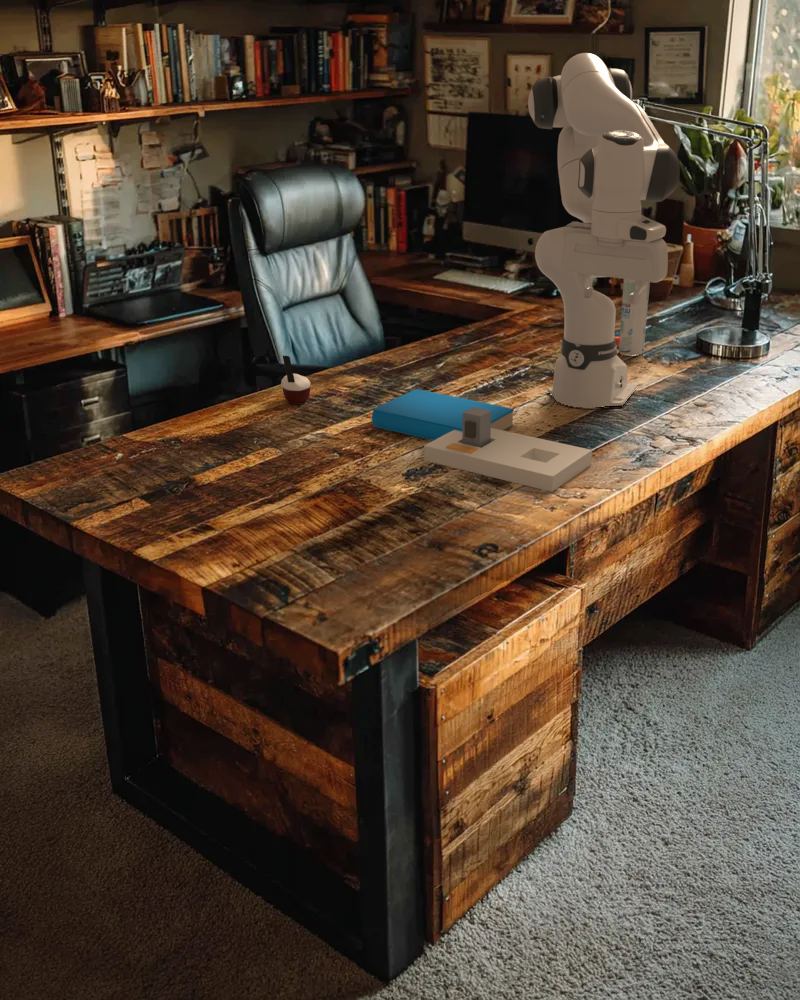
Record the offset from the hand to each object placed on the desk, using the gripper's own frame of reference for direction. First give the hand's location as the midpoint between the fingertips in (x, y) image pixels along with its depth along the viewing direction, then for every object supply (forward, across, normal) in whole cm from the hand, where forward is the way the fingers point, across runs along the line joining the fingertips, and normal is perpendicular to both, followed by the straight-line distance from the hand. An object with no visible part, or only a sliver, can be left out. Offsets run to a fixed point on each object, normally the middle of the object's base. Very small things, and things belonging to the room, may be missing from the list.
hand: (610, 300), depth 204 cm
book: (+31, -34, -5) cm, 46 cm away
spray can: (+31, -25, +71) cm, 82 cm away
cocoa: (+31, -72, -8) cm, 79 cm away
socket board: (+31, -12, -16) cm, 37 cm away
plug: (+30, -19, -16) cm, 39 cm away
